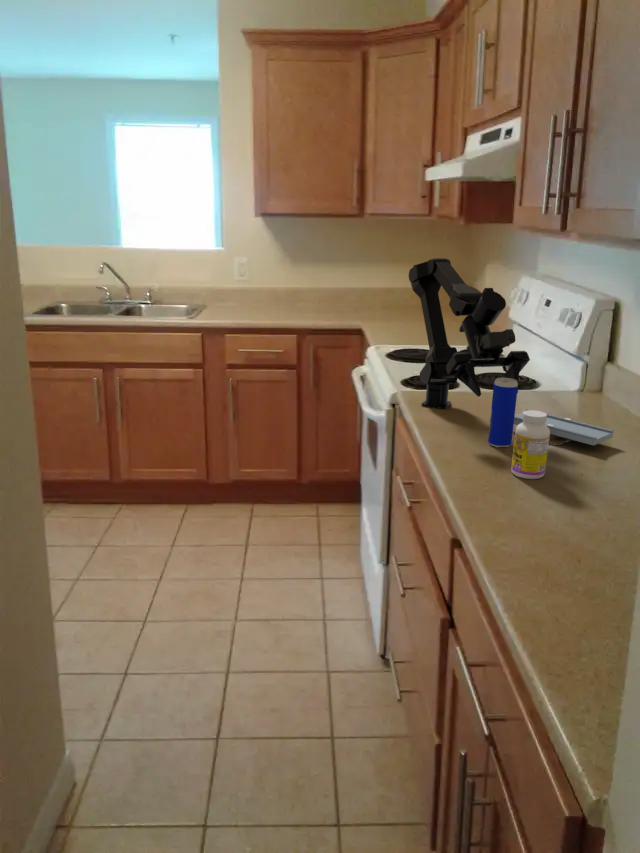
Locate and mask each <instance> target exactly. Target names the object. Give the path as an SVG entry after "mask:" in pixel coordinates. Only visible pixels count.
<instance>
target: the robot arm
mask: <svg viewBox="0 0 640 853" xmlns="http://www.w3.org/2000/svg"><path fill="white" fill-rule="evenodd" d="M450 260H451V259H448V258H447V257H446V258H442V257H439V258H438V257H433V258H431V259H428V260H427V261H425V262H421V263H418V264H413V266H412V267H411V268H410V269H409V272H408V280H409V282H410V285H411V288H412V292H414V293H415V294H416V296H417V297H418V298H419V300H420V304H421V308H422V309H421V310H422V313H423V314H422V315H423V320H424V326H425V331H426V336H427V342H428V346H429V347H428V352H427V354H426V357H425V364H424V365H423V367H422V369H420V372H419V381H420V382H421V383H423V384H425V385H426V392H425V393H426V394H425V400H423V402H421V406H423V407H429V408H436V409H446V408H448V407H449V406H450V405H452V402H451V401H450V400H448V397H449V386H450V384H455V385H456V384H457V382H458V380H459V381H460V382H461V383H463V384H464V385H465V386H467V388H469V390H471V391H472V392H473V393H474V395H476V396H477V397H481V395H482V391H481V387H480V384H479V381H478V379H477V375H476V372H475V368H493V367H502V370H503V372H504V378H511V379H515V380H517V383H518V384H519V381H520V380H519V379H520V372H521V371H523V369H524V367H526V366H527V364H528V363H529V361H530V360H531V359H530V356H529V354H528V352H527V351H526V350H510V352H509V353H508V354H507V355H506V357H503V356H502V357H500V356H499V355H501V354H503V352H504V348H506V347H510V346H511V345H512V344H514V343H515V342H516V340H517V339H516V334H515V332H514V330H513V329H511V328H510V329H509V328H508V329H507V328H506V329H505V330H502V331H491V328H490V326H492V325H493V324H494V323H495V322H496V320H498V317H499V316H500V315H501V314H502V312H503V311H504V309H505V308H506V306H507V302H506V299H505V297H503V295H502V294H500V293H499V292H497V291H495V290H494V288H493V287H484V289H483V290H482V291H480V290H478V289H477V288H476V287H473V286H470V285H468V284H466V282H465V281H464V280H463V278H462V277H461V276H460V274H459V273H458V272H457V271H456V270H455V268H454V267H453V266H452V263H451V261H450ZM441 288H442V289H443V290H444V291H445V293H446V294H447V295H448V297H449V302H448V306H449V308H450V309H451V312H452V314H453V315H454V316H455V317H465V318H463V320H462V321H461V325H460V327H459V329H458V330H459V332H460V333H464V335H465V338H466V341H467V344H468V345H467V346H466V352H458V350H457V348H456V346H453V347H452V346H451V345H449V342H448V338H447V332H446V327H445V321H444V317H443V311H442V306H441V301H440V295H439V292H440V290H441ZM518 392H519V389H518V390H517V394H518Z"/></svg>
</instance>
